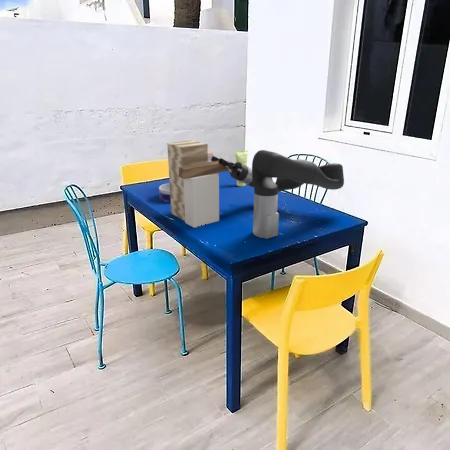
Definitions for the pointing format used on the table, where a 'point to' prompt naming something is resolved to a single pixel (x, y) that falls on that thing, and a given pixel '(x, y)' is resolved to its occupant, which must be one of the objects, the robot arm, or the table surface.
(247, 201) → the table surface
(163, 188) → the dog bowl
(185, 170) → the light brown wooden block
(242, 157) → the tube
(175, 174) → the birch stand
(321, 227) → the table surface
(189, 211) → the white block
